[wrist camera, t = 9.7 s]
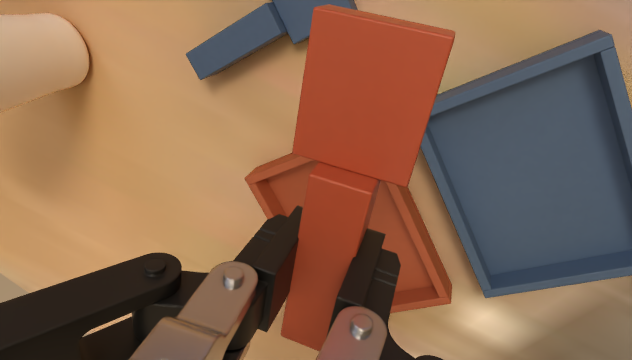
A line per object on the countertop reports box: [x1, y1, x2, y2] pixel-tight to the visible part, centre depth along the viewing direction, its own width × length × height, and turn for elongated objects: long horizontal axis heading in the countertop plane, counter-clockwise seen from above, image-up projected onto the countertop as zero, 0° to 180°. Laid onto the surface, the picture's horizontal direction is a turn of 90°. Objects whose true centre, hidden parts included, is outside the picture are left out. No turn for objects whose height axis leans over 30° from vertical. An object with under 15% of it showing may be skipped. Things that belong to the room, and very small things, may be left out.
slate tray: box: [420, 30, 632, 298], centre depth 23 cm, size 13×10×2 cm
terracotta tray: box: [245, 153, 452, 313], centre depth 28 cm, size 13×10×2 cm
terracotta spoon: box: [281, 4, 455, 351], centre depth 12 cm, size 10×3×2 cm, turn 170°
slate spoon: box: [186, 0, 357, 80], centre depth 24 cm, size 10×3×2 cm, turn 118°
